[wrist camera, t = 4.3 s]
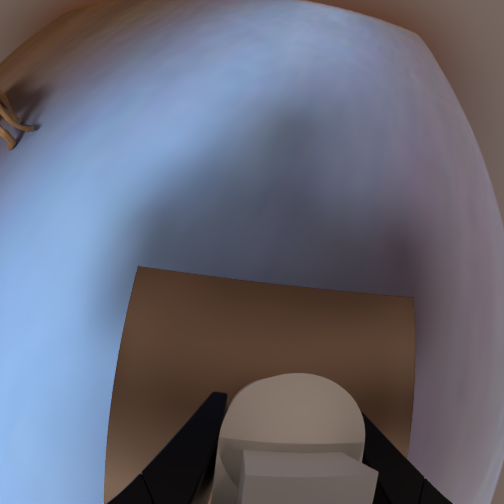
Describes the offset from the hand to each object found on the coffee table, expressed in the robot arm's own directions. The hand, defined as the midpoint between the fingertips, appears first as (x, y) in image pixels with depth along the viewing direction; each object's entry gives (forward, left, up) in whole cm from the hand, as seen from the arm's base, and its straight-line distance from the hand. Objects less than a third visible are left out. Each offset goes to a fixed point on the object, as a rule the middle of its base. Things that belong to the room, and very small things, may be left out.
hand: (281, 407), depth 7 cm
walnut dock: (-1, +1, -7) cm, 7 cm away
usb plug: (-1, +1, -3) cm, 3 cm away
